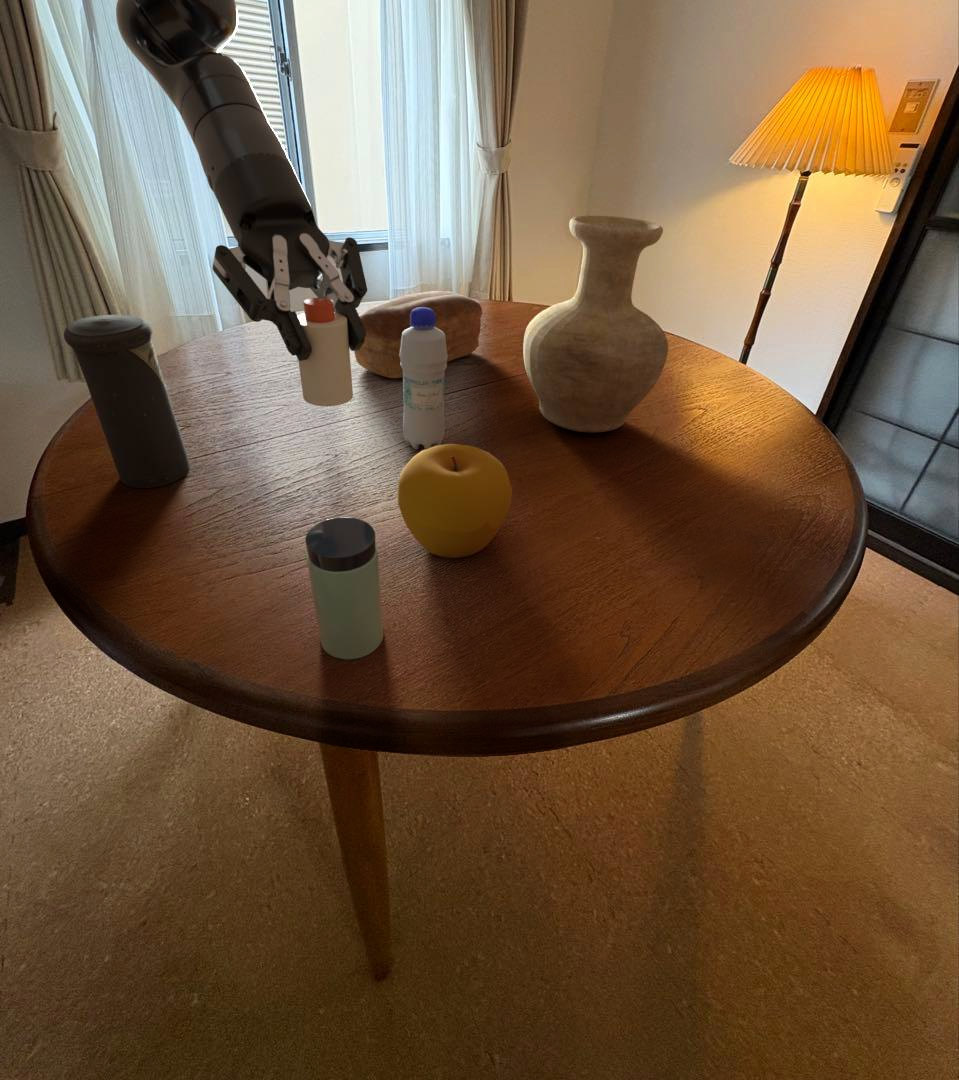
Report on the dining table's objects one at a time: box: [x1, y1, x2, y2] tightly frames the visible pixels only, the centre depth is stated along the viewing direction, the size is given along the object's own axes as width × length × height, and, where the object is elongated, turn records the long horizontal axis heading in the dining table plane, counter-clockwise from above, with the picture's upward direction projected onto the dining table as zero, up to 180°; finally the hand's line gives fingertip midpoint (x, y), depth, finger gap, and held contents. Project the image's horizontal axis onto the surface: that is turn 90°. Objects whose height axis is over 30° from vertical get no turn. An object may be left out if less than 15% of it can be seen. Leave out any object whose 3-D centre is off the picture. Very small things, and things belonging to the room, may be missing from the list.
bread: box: [353, 290, 483, 379], centre depth 112 cm, size 14×28×12 cm, turn 141°
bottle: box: [400, 307, 448, 450], centre depth 80 cm, size 7×7×20 cm
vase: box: [522, 215, 669, 434], centre depth 87 cm, size 22×22×30 cm
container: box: [63, 314, 191, 489], centre depth 69 cm, size 9×9×20 cm
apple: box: [396, 443, 513, 559], centre depth 64 cm, size 13×13×11 cm
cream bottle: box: [297, 297, 354, 407], centre depth 53 cm, size 5×5×9 cm
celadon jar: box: [304, 516, 385, 660], centre depth 50 cm, size 6×6×12 cm
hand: (333, 350), depth 52 cm, fingers closed on cream bottle, 4 cm apart
